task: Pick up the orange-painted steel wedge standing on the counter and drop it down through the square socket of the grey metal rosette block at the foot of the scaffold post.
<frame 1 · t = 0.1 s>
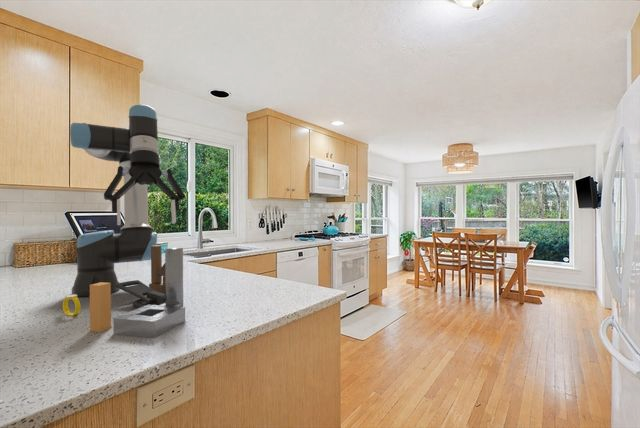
hand: (147, 223, 89), 28 cm above the worktop, tool tilted 20°, fingers open, 13 cm apart
watch: (71, 315, 96), on the worktop
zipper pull: (145, 306, 104), on the worktop
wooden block: (163, 294, 120), on the worktop
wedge: (100, 329, 84), on the worktop
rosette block: (151, 327, 85), on the worktop
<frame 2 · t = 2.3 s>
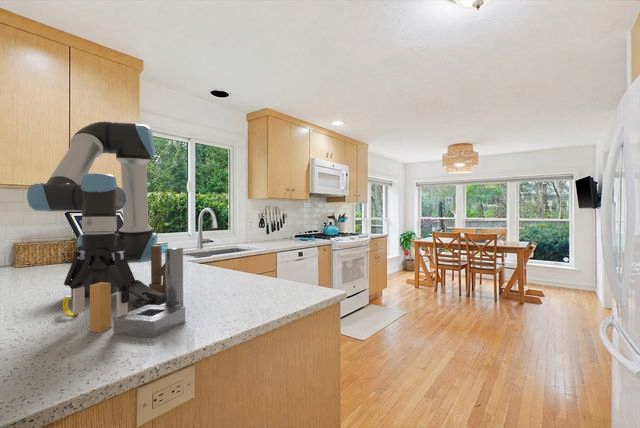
hand: (100, 314, 84), 4 cm above the worktop, tool pointing down, fingers open, 13 cm apart
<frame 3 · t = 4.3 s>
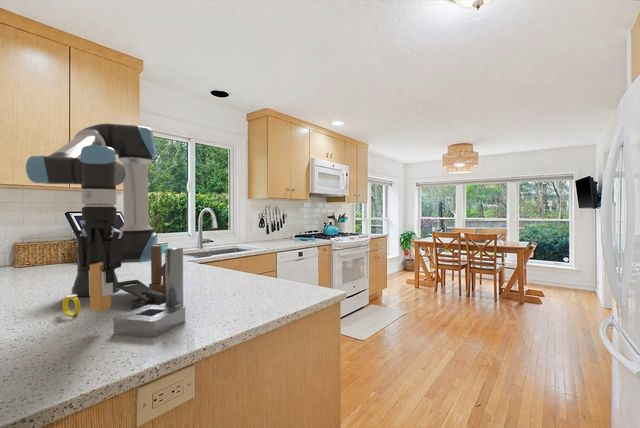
hand: (101, 294, 84), 9 cm above the worktop, tool pointing down, fingers closed on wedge, 3 cm apart
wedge: (100, 308, 84), point 5 cm above the worktop, touching gripper
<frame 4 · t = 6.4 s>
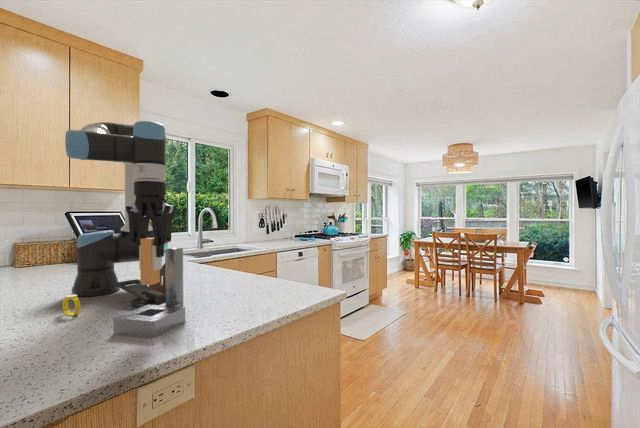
hand: (150, 269, 85), 16 cm above the worktop, tool pointing down, fingers closed on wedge, 3 cm apart
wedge: (150, 283, 85), point 12 cm above the worktop, touching gripper
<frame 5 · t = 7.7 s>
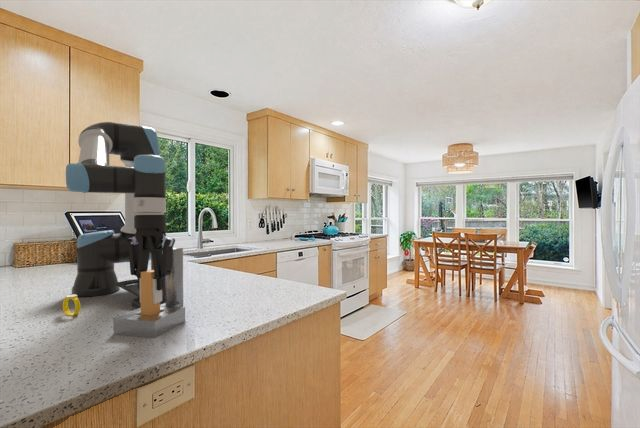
hand: (151, 301, 85), 7 cm above the worktop, tool pointing down, fingers closed on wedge, 3 cm apart
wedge: (150, 316, 85), point 3 cm above the worktop, touching gripper
when the fingers open (6 cm above the worktop, at t = 8.6 s): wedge drops 2 cm, resting in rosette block.
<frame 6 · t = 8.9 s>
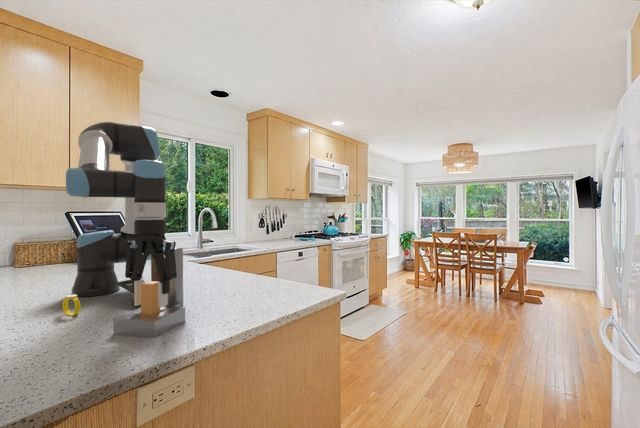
hand: (151, 304, 85), 6 cm above the worktop, tool pointing down, fingers open, 7 cm apart
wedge: (150, 327, 85), resting in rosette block
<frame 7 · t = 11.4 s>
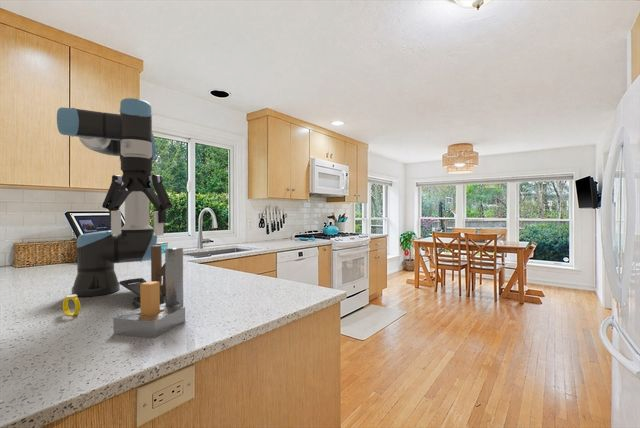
hand: (137, 234, 88), 25 cm above the worktop, tool pointing down, fingers open, 13 cm apart
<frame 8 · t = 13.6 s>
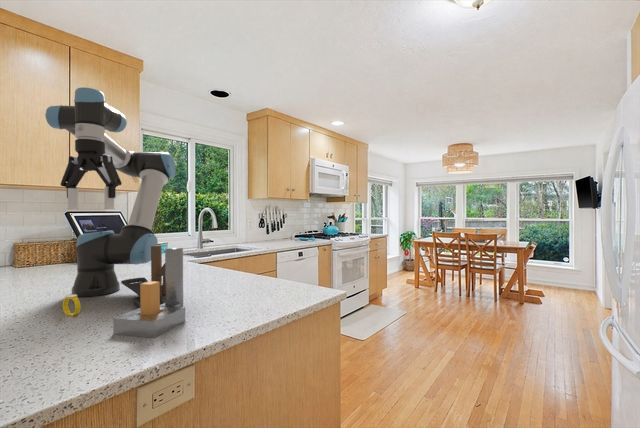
hand: (91, 209, 99), 32 cm above the worktop, tool pointing down, fingers open, 13 cm apart
at the end: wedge 0.2 cm off-centre on the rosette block, point 0.0 cm above the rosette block's base; the gripper is holding nothing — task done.
